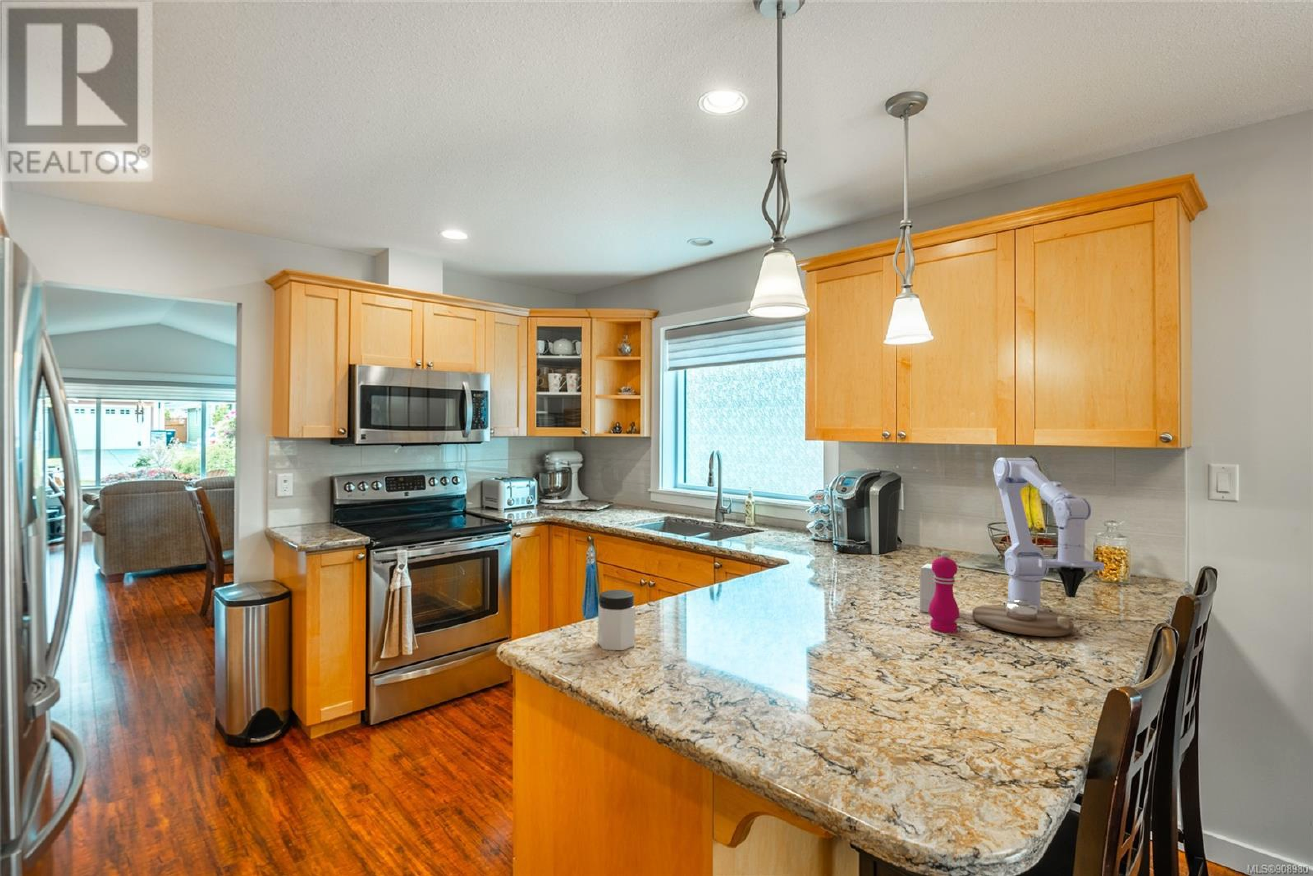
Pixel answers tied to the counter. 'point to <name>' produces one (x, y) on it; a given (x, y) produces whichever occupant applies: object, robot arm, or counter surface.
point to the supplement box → (926, 587)
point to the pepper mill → (944, 595)
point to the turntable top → (1023, 622)
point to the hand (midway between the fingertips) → (1070, 596)
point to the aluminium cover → (1021, 610)
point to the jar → (616, 620)
